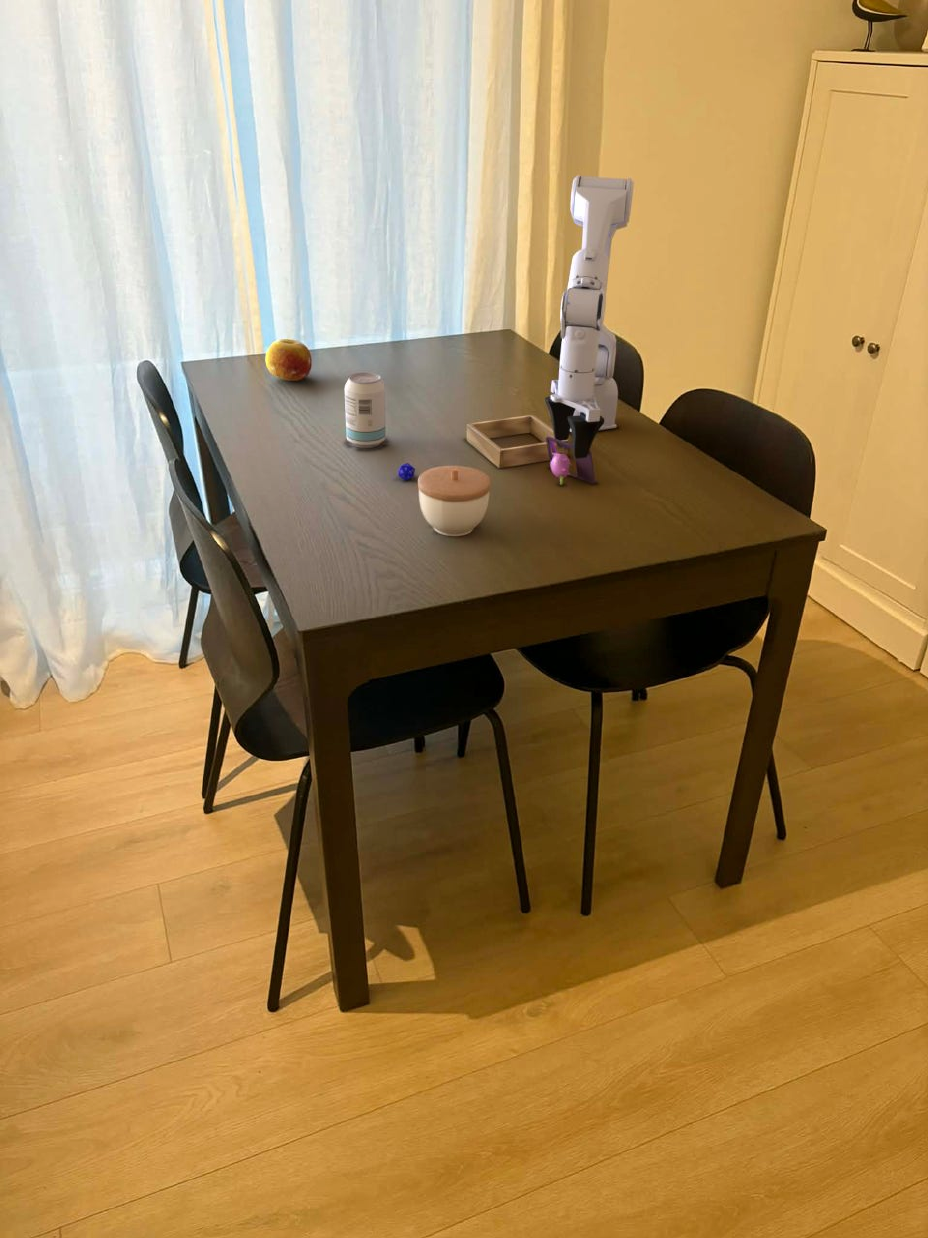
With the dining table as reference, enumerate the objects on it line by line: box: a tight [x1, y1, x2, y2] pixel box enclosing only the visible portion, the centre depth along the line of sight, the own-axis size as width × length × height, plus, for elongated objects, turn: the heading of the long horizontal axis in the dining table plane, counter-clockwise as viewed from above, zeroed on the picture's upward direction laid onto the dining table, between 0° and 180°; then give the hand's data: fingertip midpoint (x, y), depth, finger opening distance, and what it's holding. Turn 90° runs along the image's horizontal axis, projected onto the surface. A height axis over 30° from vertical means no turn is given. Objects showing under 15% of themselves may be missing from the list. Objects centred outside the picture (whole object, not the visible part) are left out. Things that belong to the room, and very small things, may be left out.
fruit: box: [264, 338, 313, 382], centre depth 201 cm, size 10×9×8 cm
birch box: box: [466, 414, 570, 469], centre depth 174 cm, size 13×13×3 cm
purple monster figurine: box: [546, 436, 596, 486], centre depth 162 cm, size 7×5×9 cm
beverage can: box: [344, 371, 386, 449], centre depth 172 cm, size 7×7×12 cm
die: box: [397, 462, 416, 482], centre depth 162 cm, size 3×3×3 cm
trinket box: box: [417, 465, 492, 537], centre depth 146 cm, size 11×11×9 cm
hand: (570, 448), depth 161 cm, fingers open, 7 cm apart
